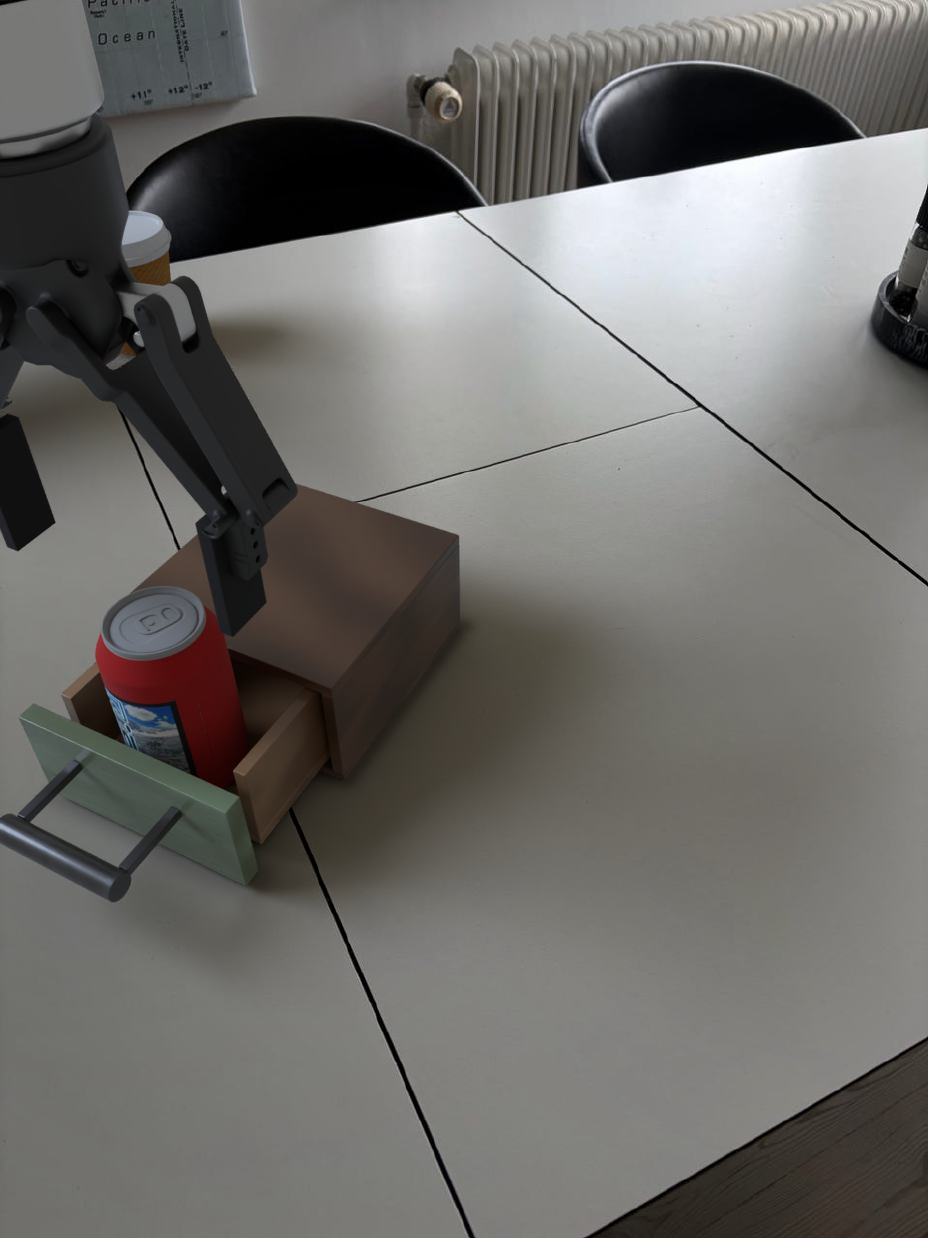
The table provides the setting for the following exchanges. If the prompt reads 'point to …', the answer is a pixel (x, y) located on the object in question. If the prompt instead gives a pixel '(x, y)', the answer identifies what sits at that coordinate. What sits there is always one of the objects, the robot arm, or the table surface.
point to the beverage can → (173, 682)
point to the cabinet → (343, 610)
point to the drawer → (168, 782)
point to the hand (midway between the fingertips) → (133, 574)
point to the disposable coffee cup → (146, 252)
